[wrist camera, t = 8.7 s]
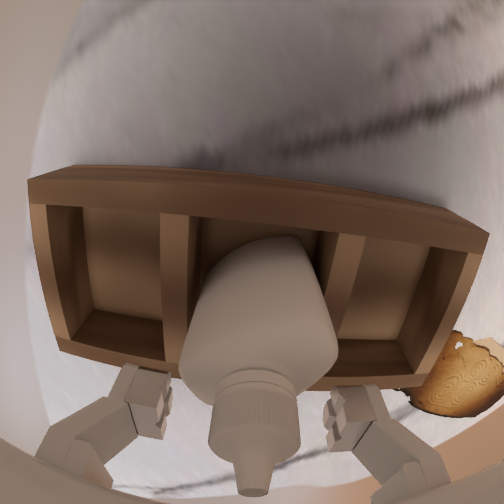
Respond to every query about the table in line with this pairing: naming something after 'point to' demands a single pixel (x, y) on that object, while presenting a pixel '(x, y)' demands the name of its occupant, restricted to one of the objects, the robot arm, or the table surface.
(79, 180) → the slot rack
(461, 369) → the parchment
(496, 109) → the table surface
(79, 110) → the table surface
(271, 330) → the eye dropper bottle
